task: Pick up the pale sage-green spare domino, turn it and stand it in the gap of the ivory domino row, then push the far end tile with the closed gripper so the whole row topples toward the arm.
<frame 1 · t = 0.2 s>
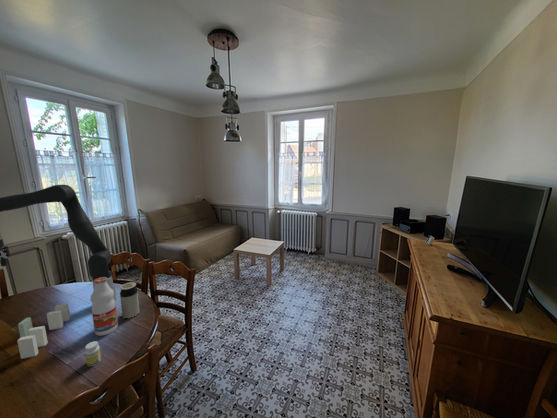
domino 2: (39, 345, 100), on the table
fruit juice: (106, 329, 110), on the table
supplement bottle: (94, 362, 92), on the table
domino 4: (56, 327, 111), on the table
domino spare: (27, 337, 104), on the table
travel mug: (131, 314, 122), on the table
domino 1: (29, 355, 94), on the table
domino 5: (63, 320, 117), on the table
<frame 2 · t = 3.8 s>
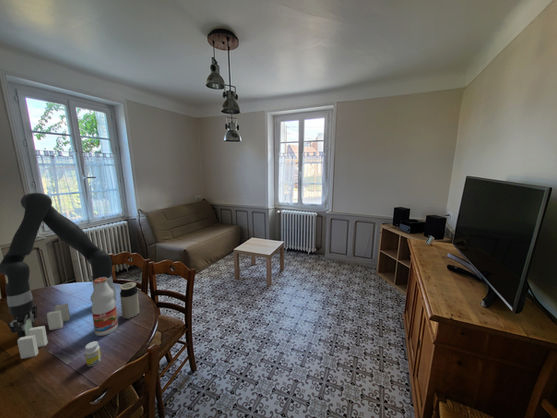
hand: (26, 333, 104), 2 cm above the table, fingers closed on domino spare, 4 cm apart
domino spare: (27, 337, 104), on the table, touching gripper
everything else where it was.
when the fingers open (3 cm above the table, at t = 8.8 s): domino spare stays where it is, on the table.
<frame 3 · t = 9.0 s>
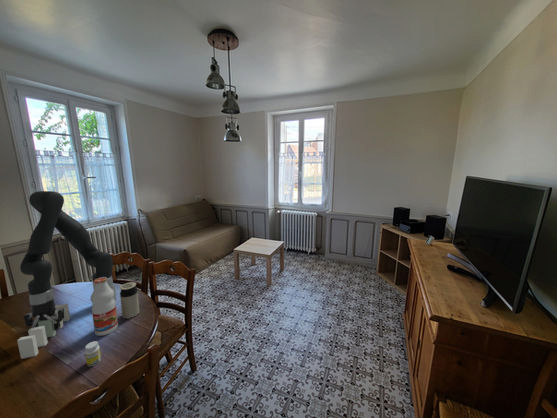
hand: (47, 330, 105), 3 cm above the table, fingers open, 6 cm apart
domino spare: (48, 336, 105), on the table
everything else where it was.
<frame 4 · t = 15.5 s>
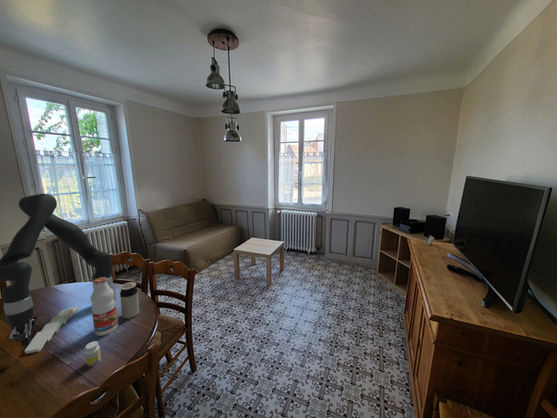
hand: (26, 344, 93), 6 cm above the table, fingers closed
domino 2: (42, 341, 101), point 1 cm above the table, tilted 72°, touching domino 1, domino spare
domino 4: (58, 323, 113), point 1 cm above the table, tilted 78°, touching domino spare
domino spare: (50, 332, 107), point 1 cm above the table, tilted 74°, touching domino 2, domino 4
domino 1: (32, 351, 95), point 1 cm above the table, tilted 72°, touching domino 2
domino 5: (65, 318, 118), on the table, tilted 90°
everything else where it was.
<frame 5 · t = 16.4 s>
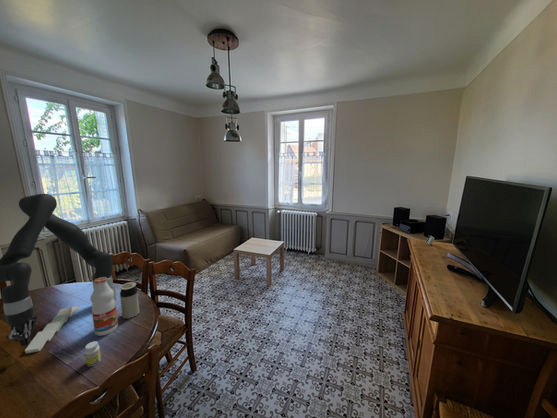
hand: (26, 344, 93), 6 cm above the table, fingers closed
domino 2: (42, 340, 101), point 1 cm above the table, tilted 73°, touching domino 1
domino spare: (51, 331, 107), point 1 cm above the table, tilted 74°, touching domino 4
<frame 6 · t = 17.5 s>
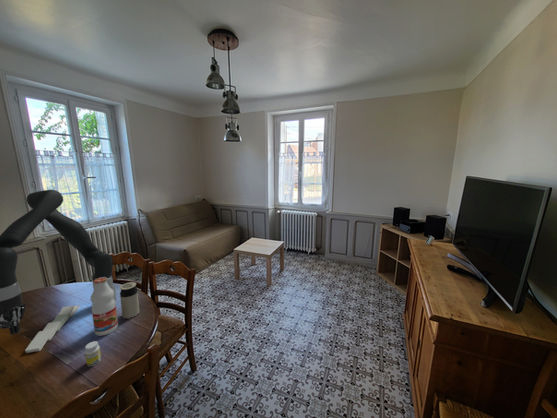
hand: (15, 332, 89), 14 cm above the table, fingers closed
domino 4: (60, 321, 115), point 1 cm above the table, tilted 74°, touching domino 5, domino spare
domino 5: (66, 317, 119), on the table, tilted 90°, touching domino 4
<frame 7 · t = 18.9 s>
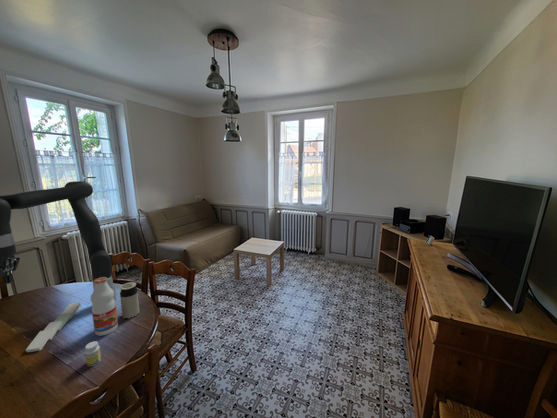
hand: (8, 282, 93), 32 cm above the table, fingers closed
domino 2: (44, 339, 102), point 1 cm above the table, tilted 74°, touching domino 1, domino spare
domino 4: (65, 317, 117), point 1 cm above the table, tilted 75°, touching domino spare
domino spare: (53, 329, 108), point 1 cm above the table, tilted 76°, touching domino 2, domino 4
domino 5: (67, 316, 120), on the table, tilted 90°
everything else where it was.
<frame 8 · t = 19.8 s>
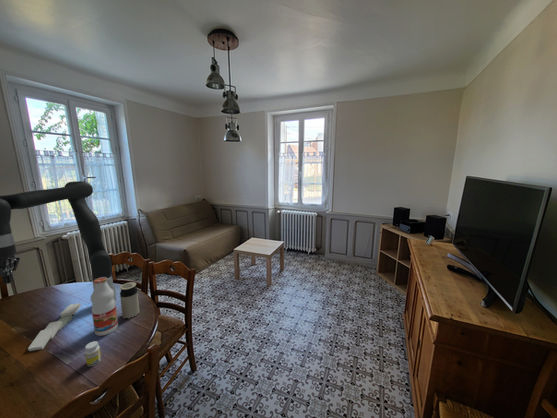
hand: (8, 282, 93), 32 cm above the table, fingers closed
domino 2: (45, 338, 103), point 1 cm above the table, tilted 78°, touching domino 1
domino 4: (65, 314, 118), point 2 cm above the table, tilted 90°, touching domino 5
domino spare: (54, 329, 109), on the table, tilted 90°
domino 5: (67, 315, 120), on the table, tilted 90°, touching domino 4
at the end: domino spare inside the target area (3.6 cm from its centre), on the table; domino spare tilted 90°; domino 5 tilted 90° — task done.
